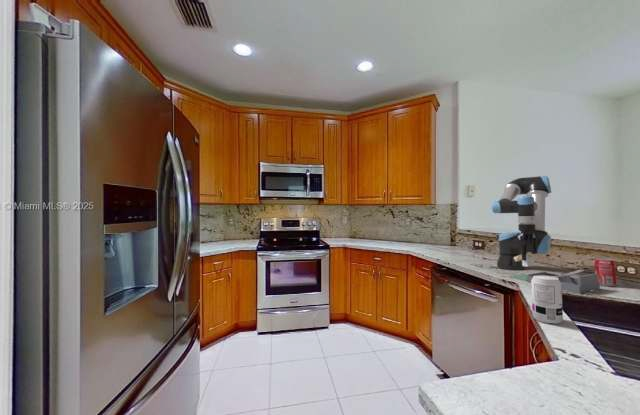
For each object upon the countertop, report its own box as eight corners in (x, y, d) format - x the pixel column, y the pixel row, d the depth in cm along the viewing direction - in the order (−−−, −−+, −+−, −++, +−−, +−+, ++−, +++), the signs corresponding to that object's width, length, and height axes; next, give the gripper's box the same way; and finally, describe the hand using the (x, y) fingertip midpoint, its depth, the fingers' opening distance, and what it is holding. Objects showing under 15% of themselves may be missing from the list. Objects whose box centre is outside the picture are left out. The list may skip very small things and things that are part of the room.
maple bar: (515, 261, 158) (513, 257, 159) (520, 261, 160) (518, 256, 161) (528, 256, 152) (525, 252, 153) (533, 256, 153) (530, 251, 154)
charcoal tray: (527, 282, 147) (526, 267, 147) (545, 278, 152) (545, 265, 153) (579, 293, 126) (579, 276, 126) (599, 289, 131) (599, 273, 131)
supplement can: (527, 316, 102) (525, 275, 102) (550, 315, 101) (548, 274, 102) (544, 325, 93) (542, 280, 94) (569, 324, 93) (567, 280, 93)
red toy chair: (620, 287, 133) (619, 260, 134) (602, 286, 135) (601, 260, 135) (608, 283, 140) (607, 257, 140) (591, 283, 142) (590, 257, 142)
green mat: (508, 277, 158) (508, 276, 158) (523, 275, 162) (523, 274, 162) (526, 281, 149) (526, 279, 149) (541, 278, 153) (541, 277, 153)
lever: (538, 283, 143) (535, 279, 144) (554, 280, 148) (551, 276, 149) (574, 273, 128) (571, 268, 130) (591, 270, 133) (587, 265, 134)
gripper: (522, 224, 148) (524, 268, 147) (544, 223, 153) (546, 265, 153) (509, 224, 155) (510, 266, 154) (530, 223, 161) (531, 263, 160)
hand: (528, 265), depth 154 cm, fingers closed on maple bar, 4 cm apart
